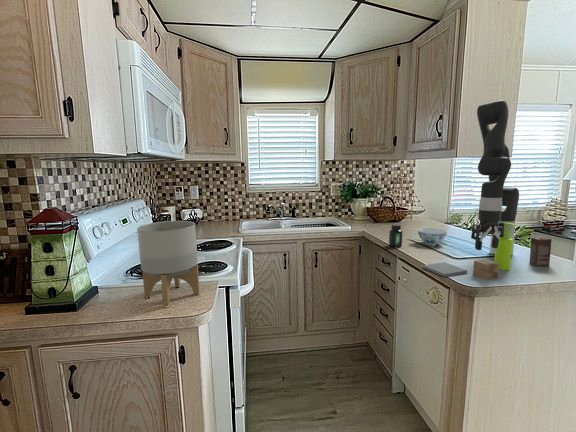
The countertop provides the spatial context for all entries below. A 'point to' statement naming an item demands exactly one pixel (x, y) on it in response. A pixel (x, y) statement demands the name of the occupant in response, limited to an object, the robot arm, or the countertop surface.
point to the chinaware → (432, 235)
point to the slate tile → (444, 269)
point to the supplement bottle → (395, 236)
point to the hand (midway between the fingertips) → (486, 248)
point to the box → (540, 251)
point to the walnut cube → (485, 269)
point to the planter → (168, 256)
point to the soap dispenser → (504, 249)
